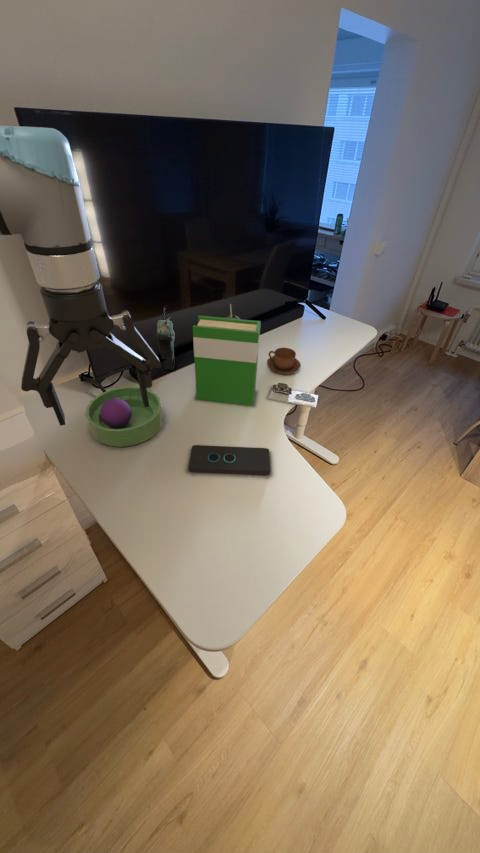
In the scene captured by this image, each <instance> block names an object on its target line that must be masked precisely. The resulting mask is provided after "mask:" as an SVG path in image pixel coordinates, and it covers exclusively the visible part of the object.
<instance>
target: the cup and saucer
mask: <svg viewBox="0 0 480 853" xmlns="http://www.w3.org/2000/svg"><path fill="white" fill-rule="evenodd" d="M271 354H274V355H273V356H272V355H271ZM296 356H297V353H296V350H294V349H292V348H289V347H279V348H277V349H275V350H270V351H268V357H269V358H268V359H267V360H266V365H267V367H268V368H269V369H270V370H271V371H273V372H275V373H276V374H280V375H281V374H282V375H290V374H291V375H292V374H294V373H296V372H298V371H299V370H300V368H301V367H302V366H301V362H300V361H299V360H298V359H297V358H296Z"/></svg>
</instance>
